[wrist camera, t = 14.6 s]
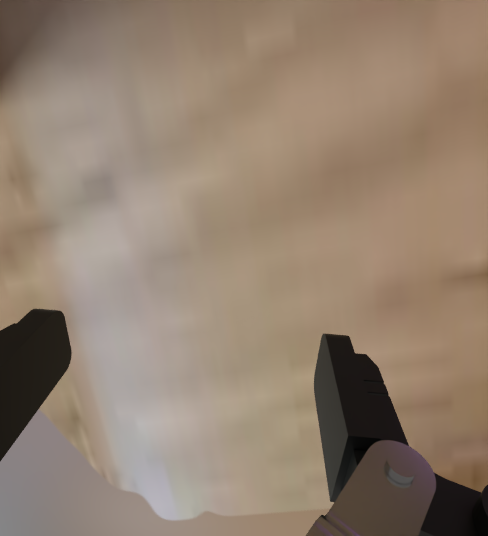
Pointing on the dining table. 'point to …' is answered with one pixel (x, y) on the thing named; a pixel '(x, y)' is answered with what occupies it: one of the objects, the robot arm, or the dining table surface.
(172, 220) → the dining table surface
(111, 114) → the dining table surface
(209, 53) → the dining table surface
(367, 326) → the dining table surface
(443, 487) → the robot arm
